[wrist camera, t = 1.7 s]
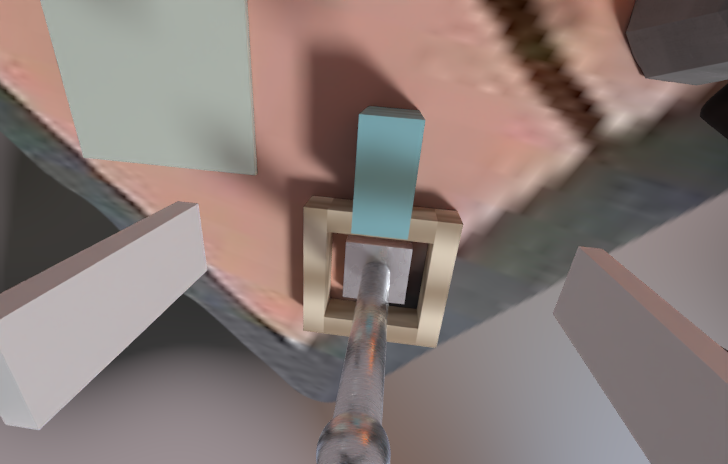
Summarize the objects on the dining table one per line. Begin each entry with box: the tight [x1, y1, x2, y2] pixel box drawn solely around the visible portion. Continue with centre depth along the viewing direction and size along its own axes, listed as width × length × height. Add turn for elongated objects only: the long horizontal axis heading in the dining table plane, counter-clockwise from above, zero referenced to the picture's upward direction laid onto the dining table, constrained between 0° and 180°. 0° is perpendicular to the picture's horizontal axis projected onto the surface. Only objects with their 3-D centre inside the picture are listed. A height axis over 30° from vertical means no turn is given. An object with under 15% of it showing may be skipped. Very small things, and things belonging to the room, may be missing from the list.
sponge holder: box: [303, 106, 463, 348], centre depth 28 cm, size 21×13×7 cm, turn 176°
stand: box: [316, 235, 413, 464], centre depth 24 cm, size 6×6×20 cm
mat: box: [40, 0, 257, 175], centre depth 26 cm, size 20×16×1 cm
